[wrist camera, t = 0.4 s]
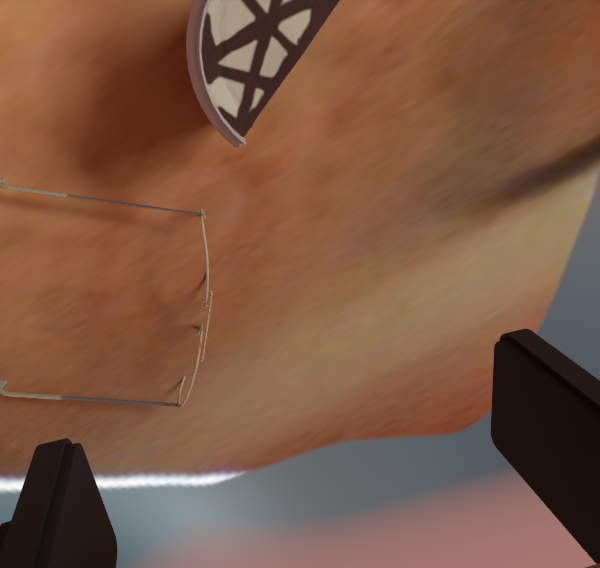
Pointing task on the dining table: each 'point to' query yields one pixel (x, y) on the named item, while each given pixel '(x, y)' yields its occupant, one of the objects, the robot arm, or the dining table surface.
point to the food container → (246, 54)
